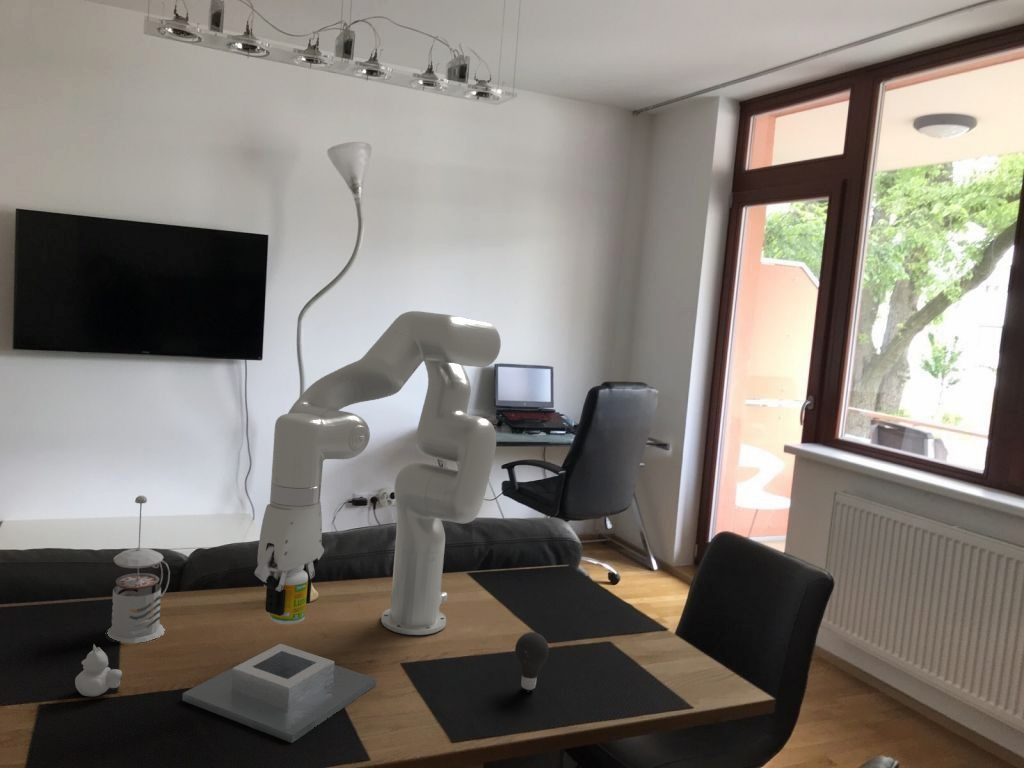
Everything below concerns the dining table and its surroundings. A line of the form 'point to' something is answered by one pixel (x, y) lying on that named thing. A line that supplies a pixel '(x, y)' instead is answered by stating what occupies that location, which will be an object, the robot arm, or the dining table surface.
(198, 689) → the collar plate
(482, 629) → the dining table surface
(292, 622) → the supplement bottle
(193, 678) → the dining table surface
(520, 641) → the light bulb
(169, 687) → the dining table surface
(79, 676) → the rubber duck
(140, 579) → the french press
